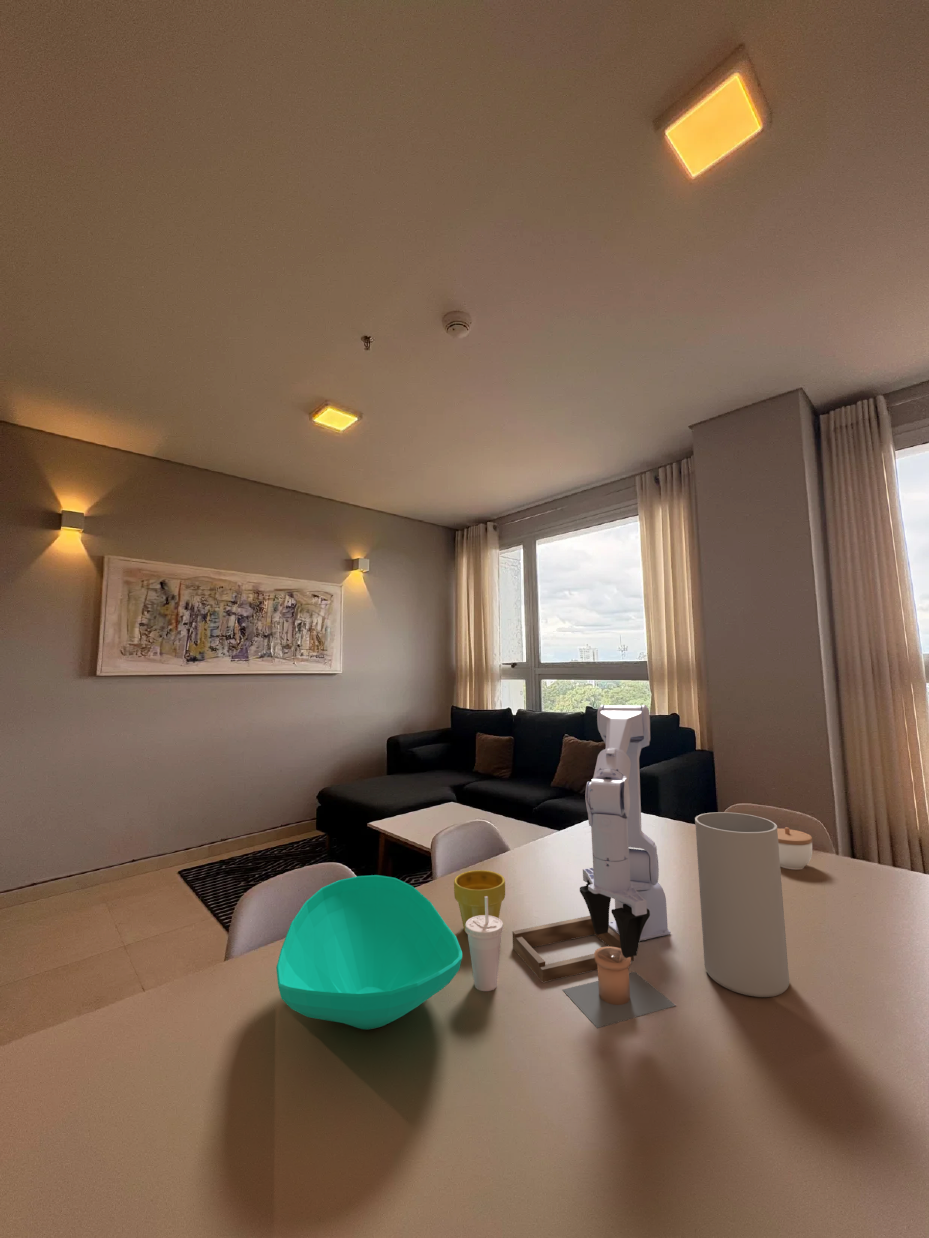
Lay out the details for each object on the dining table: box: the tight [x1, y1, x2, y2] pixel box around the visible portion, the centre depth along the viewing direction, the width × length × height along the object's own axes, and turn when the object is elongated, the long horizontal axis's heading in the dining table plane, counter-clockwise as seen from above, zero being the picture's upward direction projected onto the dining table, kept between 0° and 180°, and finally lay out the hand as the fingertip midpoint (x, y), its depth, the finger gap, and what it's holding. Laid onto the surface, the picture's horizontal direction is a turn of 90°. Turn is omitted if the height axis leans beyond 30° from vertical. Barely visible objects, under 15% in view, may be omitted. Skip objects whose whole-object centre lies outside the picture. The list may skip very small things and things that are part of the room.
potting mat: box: [562, 971, 677, 1029], centre depth 84 cm, size 14×10×1 cm
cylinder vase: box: [694, 811, 790, 998], centre depth 90 cm, size 12×12×25 cm
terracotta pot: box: [593, 946, 632, 1005], centre depth 85 cm, size 6×6×6 cm
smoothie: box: [464, 896, 504, 992], centre depth 89 cm, size 6×6×14 cm
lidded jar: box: [777, 826, 813, 871], centre depth 138 cm, size 11×11×9 cm
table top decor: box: [275, 874, 463, 1030], centre depth 83 cm, size 40×28×13 cm
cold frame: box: [511, 915, 635, 983], centre depth 98 cm, size 18×12×3 cm, turn 109°
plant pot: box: [453, 869, 506, 933], centre depth 108 cm, size 10×10×10 cm
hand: (615, 943), depth 85 cm, fingers open, 7 cm apart
